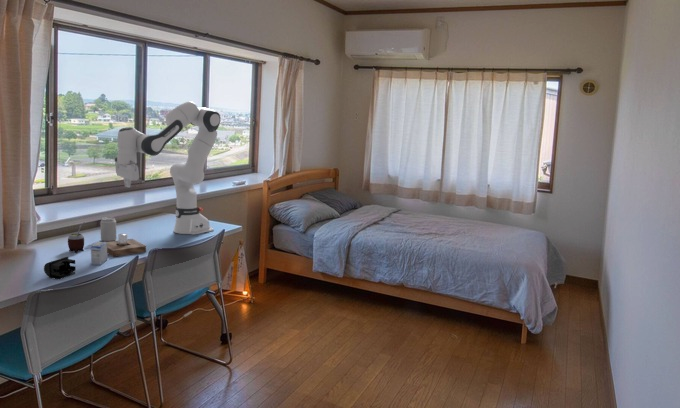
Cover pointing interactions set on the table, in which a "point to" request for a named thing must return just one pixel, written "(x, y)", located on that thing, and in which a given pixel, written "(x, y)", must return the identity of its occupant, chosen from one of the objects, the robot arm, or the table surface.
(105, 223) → the can
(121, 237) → the cylinder
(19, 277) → the table surface
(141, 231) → the table surface
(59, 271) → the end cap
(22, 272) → the table surface
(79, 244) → the mate gourd
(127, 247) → the block
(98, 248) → the medicine box
